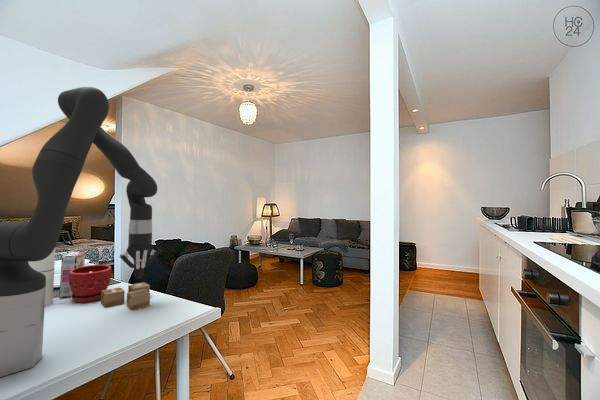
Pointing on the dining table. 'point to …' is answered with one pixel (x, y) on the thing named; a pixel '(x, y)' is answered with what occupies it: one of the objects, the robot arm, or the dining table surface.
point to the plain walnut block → (138, 299)
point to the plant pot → (89, 282)
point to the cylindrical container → (46, 274)
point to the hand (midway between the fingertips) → (139, 278)
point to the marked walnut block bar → (112, 297)
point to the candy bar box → (67, 265)
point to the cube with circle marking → (138, 287)
